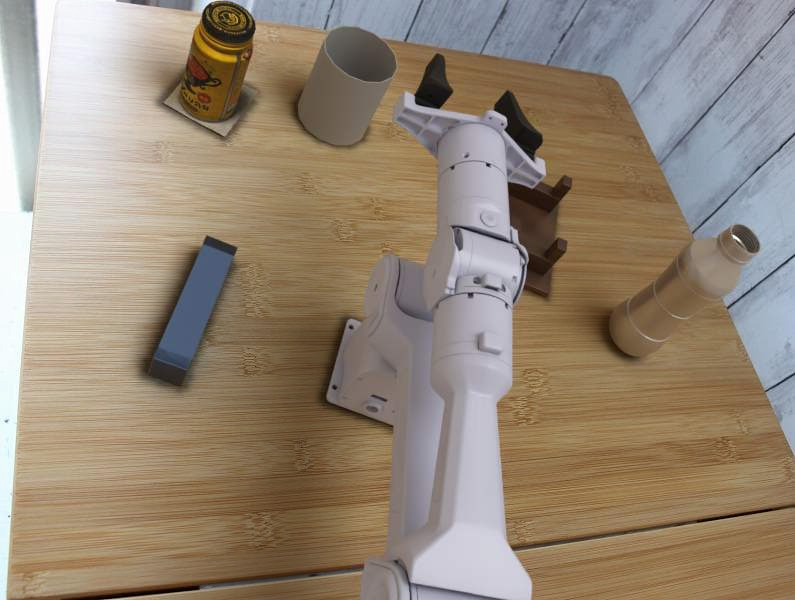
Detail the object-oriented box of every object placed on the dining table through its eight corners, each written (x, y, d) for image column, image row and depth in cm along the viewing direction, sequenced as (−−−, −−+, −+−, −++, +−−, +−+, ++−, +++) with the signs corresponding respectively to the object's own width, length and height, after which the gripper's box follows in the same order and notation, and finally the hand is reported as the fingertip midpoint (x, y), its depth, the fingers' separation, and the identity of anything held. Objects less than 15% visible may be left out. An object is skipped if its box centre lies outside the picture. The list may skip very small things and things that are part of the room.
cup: (370, 106, 100) (401, 43, 92) (362, 154, 95) (394, 93, 88) (303, 81, 98) (329, 15, 90) (291, 129, 93) (318, 64, 86)
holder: (546, 297, 95) (573, 270, 90) (475, 268, 93) (500, 238, 88) (556, 198, 104) (581, 168, 100) (492, 169, 103) (514, 138, 98)
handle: (181, 387, 72) (188, 370, 70) (147, 374, 72) (152, 357, 69) (230, 265, 81) (238, 247, 78) (200, 253, 80) (206, 234, 78)
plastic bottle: (614, 365, 93) (737, 268, 78) (592, 313, 96) (707, 209, 81) (657, 362, 96) (784, 268, 81) (635, 311, 99) (753, 211, 84)
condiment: (162, 104, 88) (182, 16, 79) (200, 61, 93) (222, -26, 84) (224, 138, 89) (250, 55, 80) (257, 93, 94) (286, 11, 85)
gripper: (573, 191, 68) (560, 85, 76) (422, 116, 63) (425, 11, 71) (520, 239, 73) (513, 134, 81) (376, 174, 67) (384, 69, 76)
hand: (469, 80), depth 76 cm, fingers open, 7 cm apart
